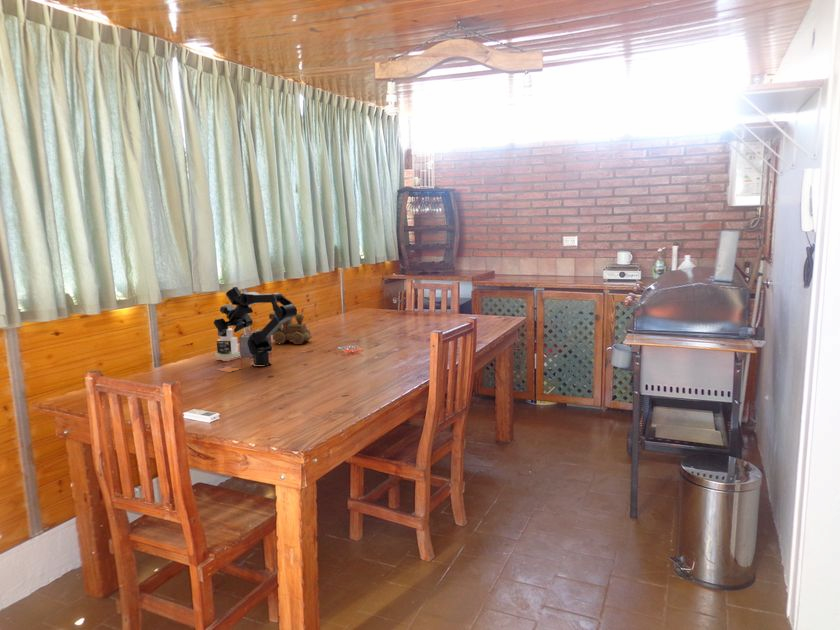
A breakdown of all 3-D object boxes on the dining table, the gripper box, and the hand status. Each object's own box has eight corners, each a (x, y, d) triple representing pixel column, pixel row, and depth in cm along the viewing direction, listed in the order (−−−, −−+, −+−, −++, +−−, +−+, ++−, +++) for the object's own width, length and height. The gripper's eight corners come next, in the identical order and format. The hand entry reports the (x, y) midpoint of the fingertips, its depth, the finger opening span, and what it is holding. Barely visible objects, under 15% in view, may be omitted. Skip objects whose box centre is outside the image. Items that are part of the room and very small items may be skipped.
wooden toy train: (269, 344, 313) (267, 313, 311) (279, 340, 324) (277, 310, 321) (304, 345, 309) (303, 314, 306) (313, 341, 320) (311, 310, 317)
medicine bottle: (217, 354, 280) (215, 329, 278) (224, 351, 287) (222, 327, 285) (231, 355, 279) (229, 330, 277) (238, 351, 286) (236, 327, 284)
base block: (240, 358, 285) (239, 352, 284) (227, 361, 278) (226, 355, 278) (229, 356, 289) (228, 350, 288) (215, 360, 282) (215, 353, 282)
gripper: (247, 296, 283) (233, 317, 291) (214, 302, 268) (201, 324, 276) (259, 314, 280) (245, 334, 288) (226, 320, 265) (213, 342, 273)
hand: (226, 333), depth 281 cm, fingers open, 9 cm apart
